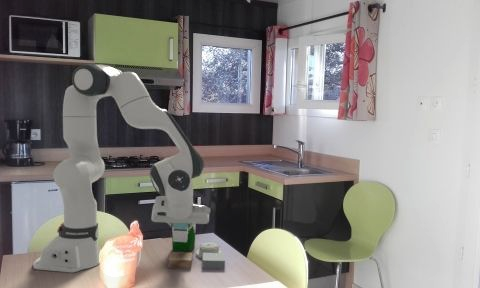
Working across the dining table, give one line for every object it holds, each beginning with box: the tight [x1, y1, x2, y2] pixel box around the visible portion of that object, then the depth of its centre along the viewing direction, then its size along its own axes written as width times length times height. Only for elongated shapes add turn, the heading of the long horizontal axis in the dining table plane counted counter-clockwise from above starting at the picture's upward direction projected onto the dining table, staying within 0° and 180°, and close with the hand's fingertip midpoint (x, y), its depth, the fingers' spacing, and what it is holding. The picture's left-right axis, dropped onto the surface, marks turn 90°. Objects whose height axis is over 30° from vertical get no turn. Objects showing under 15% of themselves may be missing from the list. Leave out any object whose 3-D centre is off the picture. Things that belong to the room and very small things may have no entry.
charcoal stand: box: [201, 252, 226, 270], centre depth 159 cm, size 8×8×3 cm
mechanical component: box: [195, 242, 223, 260], centre depth 169 cm, size 10×4×10 cm
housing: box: [173, 223, 188, 242], centre depth 157 cm, size 5×4×9 cm
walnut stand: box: [168, 251, 193, 269], centre depth 158 cm, size 8×8×3 cm
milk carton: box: [171, 203, 198, 253], centre depth 175 cm, size 9×9×20 cm
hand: (180, 225), depth 158 cm, fingers closed on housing, 5 cm apart
